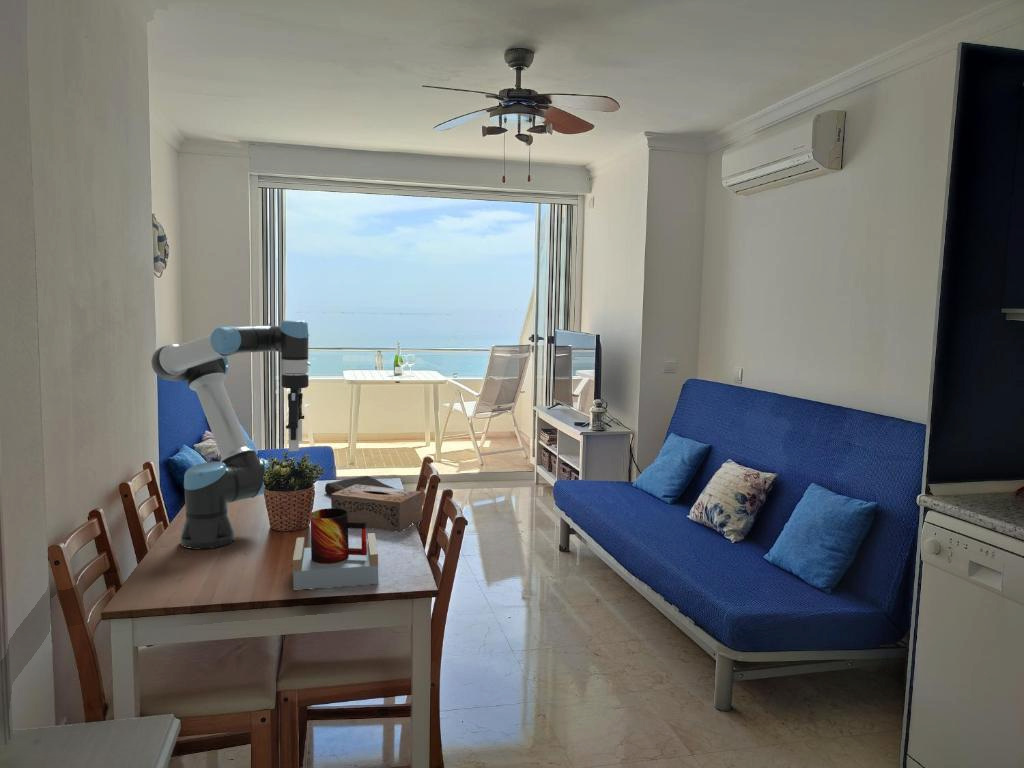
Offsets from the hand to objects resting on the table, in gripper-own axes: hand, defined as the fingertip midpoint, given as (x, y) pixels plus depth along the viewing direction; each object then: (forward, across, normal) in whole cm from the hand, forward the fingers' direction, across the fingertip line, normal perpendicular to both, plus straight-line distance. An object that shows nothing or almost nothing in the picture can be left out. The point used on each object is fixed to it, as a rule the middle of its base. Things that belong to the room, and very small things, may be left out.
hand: (295, 445), depth 217 cm
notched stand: (+29, -27, -12) cm, 42 cm away
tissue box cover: (+31, +20, -24) cm, 44 cm away
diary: (+32, +53, -20) cm, 65 cm away
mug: (+25, -27, -13) cm, 38 cm away
